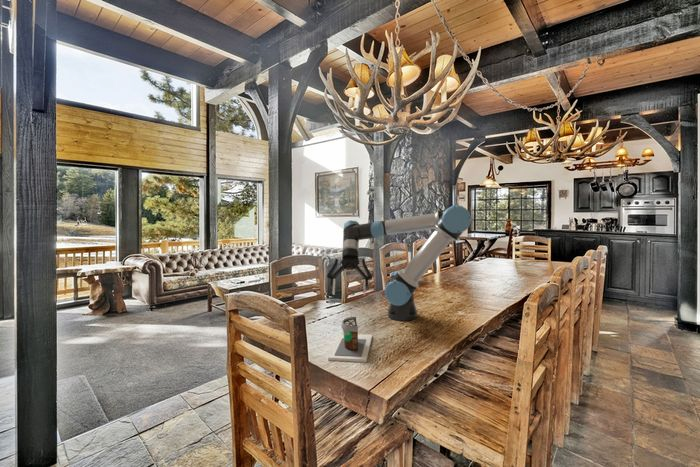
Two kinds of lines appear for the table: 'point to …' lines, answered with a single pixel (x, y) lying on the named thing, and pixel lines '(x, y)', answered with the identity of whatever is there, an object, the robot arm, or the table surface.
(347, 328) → the food container
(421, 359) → the table surface
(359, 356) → the board
